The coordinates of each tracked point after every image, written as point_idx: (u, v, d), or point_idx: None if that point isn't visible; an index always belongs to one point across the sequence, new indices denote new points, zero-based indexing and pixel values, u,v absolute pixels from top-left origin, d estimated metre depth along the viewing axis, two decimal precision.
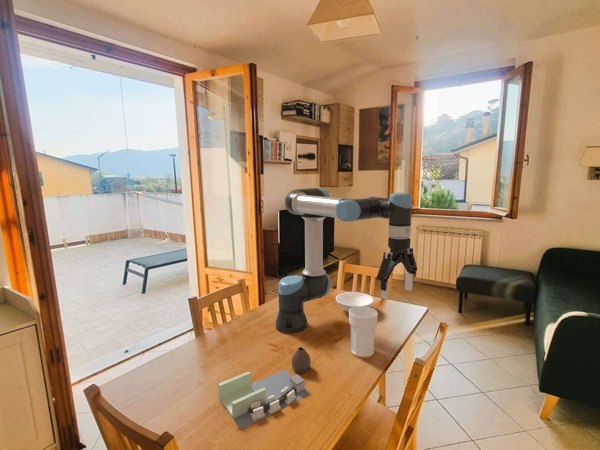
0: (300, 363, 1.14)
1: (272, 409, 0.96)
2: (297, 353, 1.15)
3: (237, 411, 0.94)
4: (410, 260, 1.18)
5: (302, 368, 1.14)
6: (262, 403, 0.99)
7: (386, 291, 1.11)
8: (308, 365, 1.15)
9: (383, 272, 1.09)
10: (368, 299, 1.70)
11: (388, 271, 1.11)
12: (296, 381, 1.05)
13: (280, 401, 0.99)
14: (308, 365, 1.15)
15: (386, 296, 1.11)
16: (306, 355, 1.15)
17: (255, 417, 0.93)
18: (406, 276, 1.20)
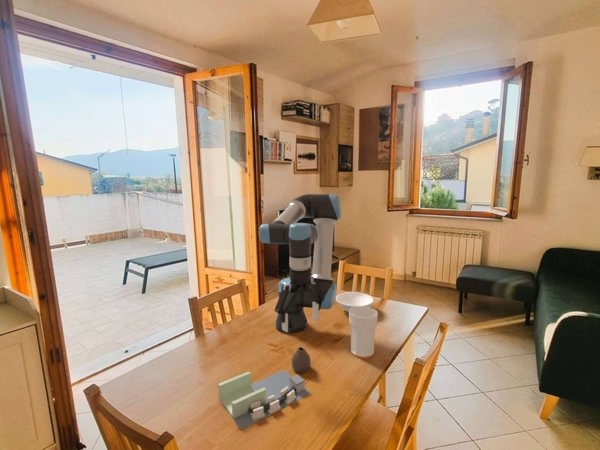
0: (301, 364, 1.14)
1: (272, 409, 0.96)
2: (297, 353, 1.15)
3: (237, 411, 0.94)
4: (316, 290, 1.17)
5: (302, 368, 1.14)
6: (262, 403, 0.99)
7: (285, 323, 1.09)
8: (308, 365, 1.15)
9: (280, 304, 1.07)
10: (368, 299, 1.70)
11: (287, 303, 1.09)
12: (296, 381, 1.05)
13: (280, 401, 0.99)
14: (308, 365, 1.15)
15: (285, 328, 1.10)
16: (306, 355, 1.15)
17: (255, 417, 0.93)
18: (313, 306, 1.18)
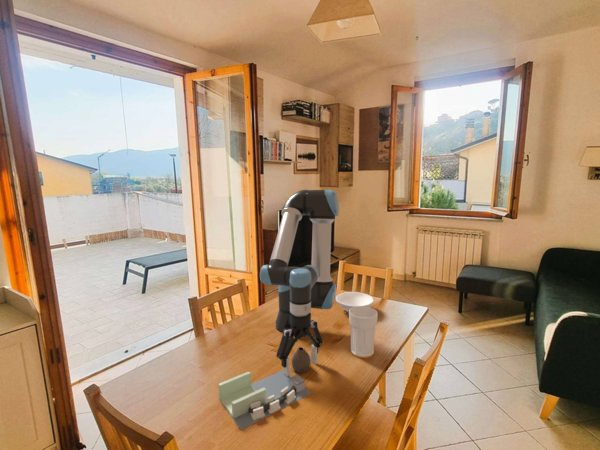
0: (301, 364, 1.14)
1: (272, 409, 0.96)
2: (297, 353, 1.15)
3: (237, 411, 0.94)
4: (315, 333, 1.19)
5: (302, 368, 1.14)
6: (262, 403, 0.99)
7: (286, 368, 1.12)
8: (308, 365, 1.15)
9: (281, 350, 1.10)
10: (368, 299, 1.70)
11: (288, 348, 1.12)
12: (296, 381, 1.05)
13: (280, 401, 0.99)
14: (308, 365, 1.15)
15: (286, 373, 1.12)
16: (306, 355, 1.15)
17: (255, 417, 0.93)
18: (311, 348, 1.21)
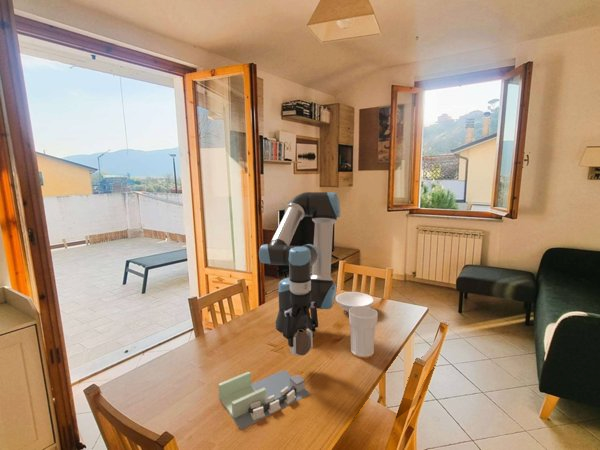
0: (301, 345, 1.13)
1: (272, 409, 0.96)
2: (297, 335, 1.15)
3: (237, 411, 0.94)
4: (313, 315, 1.18)
5: (303, 349, 1.13)
6: (262, 403, 0.99)
7: (293, 347, 1.13)
8: (308, 347, 1.15)
9: (286, 331, 1.11)
10: (368, 299, 1.70)
11: (292, 328, 1.12)
12: (296, 381, 1.05)
13: (280, 401, 0.99)
14: (308, 346, 1.15)
15: (293, 352, 1.14)
16: (306, 337, 1.15)
17: (255, 417, 0.93)
18: (307, 333, 1.19)
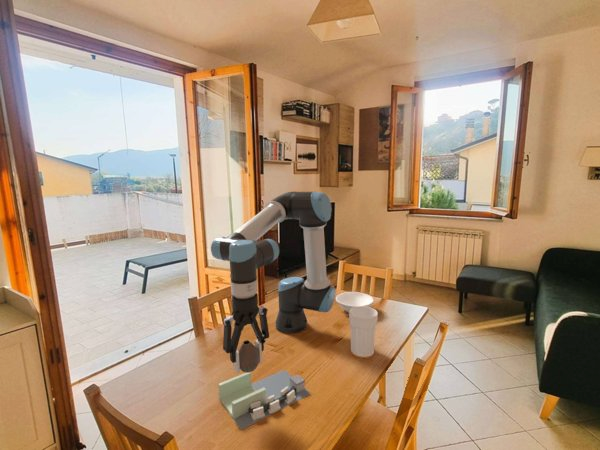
0: (245, 360, 0.93)
1: (272, 409, 0.96)
2: (242, 348, 0.94)
3: (237, 411, 0.94)
4: (262, 323, 0.98)
5: (248, 365, 0.93)
6: (262, 403, 0.99)
7: (236, 363, 0.93)
8: (255, 362, 0.94)
9: (226, 343, 0.90)
10: (368, 299, 1.70)
11: (234, 339, 0.92)
12: (296, 381, 1.05)
13: (280, 401, 0.99)
14: (255, 362, 0.94)
15: (236, 369, 0.93)
16: (253, 350, 0.94)
17: (255, 417, 0.93)
18: (255, 345, 0.98)
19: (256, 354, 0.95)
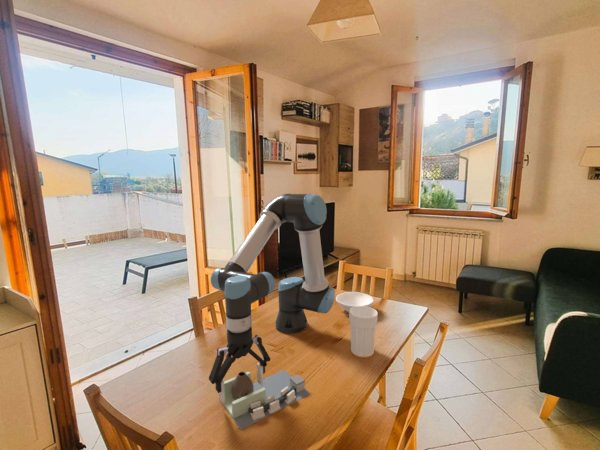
0: (240, 392, 0.97)
1: (272, 409, 0.96)
2: (237, 379, 0.99)
3: (237, 411, 0.94)
4: (260, 350, 1.02)
5: None
6: (262, 403, 0.99)
7: (221, 393, 0.95)
8: None
9: (214, 373, 0.93)
10: (368, 299, 1.70)
11: (223, 370, 0.95)
12: (296, 381, 1.05)
13: (280, 401, 0.99)
14: (249, 393, 0.98)
15: (222, 398, 0.95)
16: (247, 381, 0.99)
17: (255, 417, 0.93)
18: (257, 367, 1.04)
19: (250, 386, 0.99)
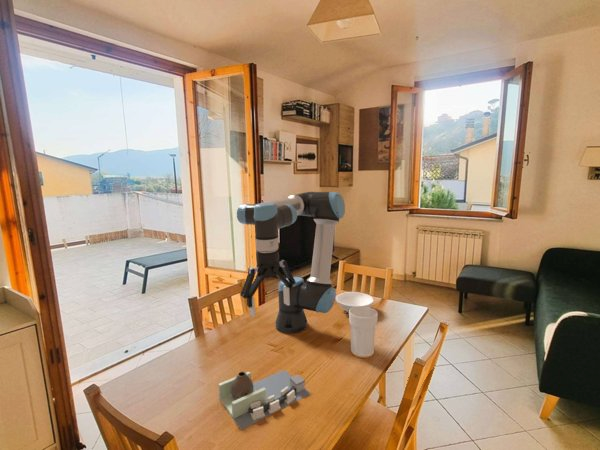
0: (240, 392, 0.97)
1: (272, 409, 0.96)
2: (237, 379, 0.99)
3: (237, 411, 0.94)
4: (286, 273, 1.12)
5: None
6: (262, 403, 0.99)
7: (252, 308, 1.05)
8: None
9: (245, 289, 1.02)
10: (368, 299, 1.70)
11: (253, 287, 1.04)
12: (296, 381, 1.05)
13: (280, 401, 0.99)
14: (249, 393, 0.98)
15: (252, 313, 1.05)
16: (247, 381, 0.99)
17: (255, 417, 0.93)
18: (284, 290, 1.13)
19: (250, 386, 0.99)
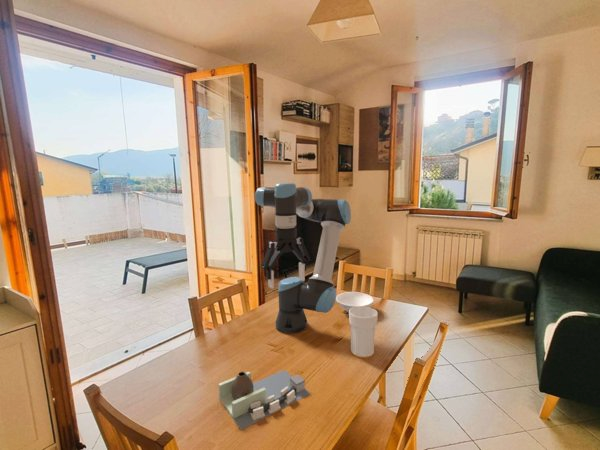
0: (240, 392, 0.97)
1: (272, 409, 0.96)
2: (237, 379, 0.99)
3: (237, 411, 0.94)
4: (302, 250, 1.20)
5: None
6: (262, 403, 0.99)
7: (271, 280, 1.12)
8: None
9: (266, 261, 1.10)
10: (368, 299, 1.70)
11: (272, 260, 1.12)
12: (296, 381, 1.05)
13: (280, 401, 0.99)
14: (249, 393, 0.98)
15: (271, 285, 1.13)
16: (247, 381, 0.99)
17: (255, 417, 0.93)
18: (299, 266, 1.21)
19: (250, 386, 0.99)
